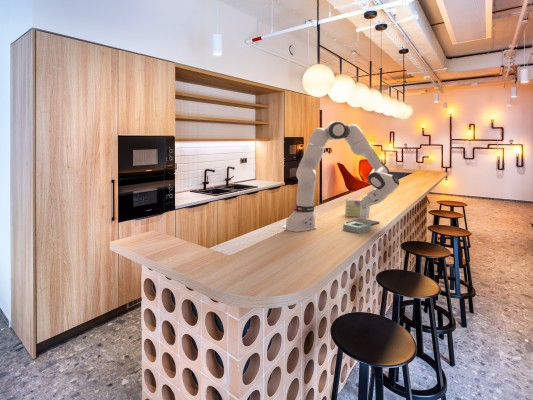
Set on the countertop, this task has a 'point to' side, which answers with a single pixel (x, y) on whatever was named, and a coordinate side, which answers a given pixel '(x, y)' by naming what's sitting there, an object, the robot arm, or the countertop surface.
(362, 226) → the block
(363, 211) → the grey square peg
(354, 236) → the countertop surface
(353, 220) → the mat
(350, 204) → the box
